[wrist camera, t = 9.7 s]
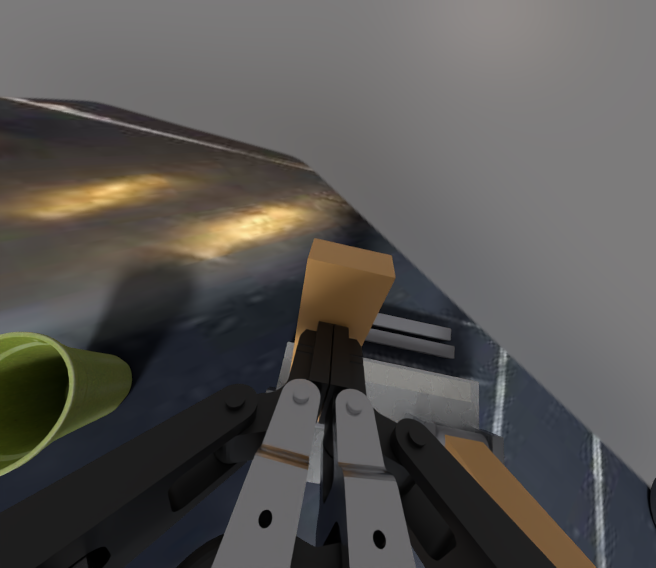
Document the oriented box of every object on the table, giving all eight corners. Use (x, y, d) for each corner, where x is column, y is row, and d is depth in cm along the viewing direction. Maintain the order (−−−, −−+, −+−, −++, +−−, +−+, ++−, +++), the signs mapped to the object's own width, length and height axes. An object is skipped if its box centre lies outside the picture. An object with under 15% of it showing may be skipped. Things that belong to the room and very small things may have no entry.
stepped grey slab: (308, 300, 29) (309, 298, 27) (448, 330, 29) (455, 329, 28) (302, 327, 28) (302, 326, 26) (447, 358, 28) (454, 358, 27)
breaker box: (285, 342, 27) (279, 339, 21) (459, 379, 28) (501, 385, 22) (257, 451, 24) (242, 483, 18) (457, 490, 24) (506, 533, 18)
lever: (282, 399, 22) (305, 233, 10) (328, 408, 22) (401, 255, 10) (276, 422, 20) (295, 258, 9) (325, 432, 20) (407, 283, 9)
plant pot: (153, 421, 23) (71, 456, 15) (45, 452, 22) (-112, 510, 14) (148, 330, 26) (76, 318, 18) (51, 352, 24) (-79, 350, 16)
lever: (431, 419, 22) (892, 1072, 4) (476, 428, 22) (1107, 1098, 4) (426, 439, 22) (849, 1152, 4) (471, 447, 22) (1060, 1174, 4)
